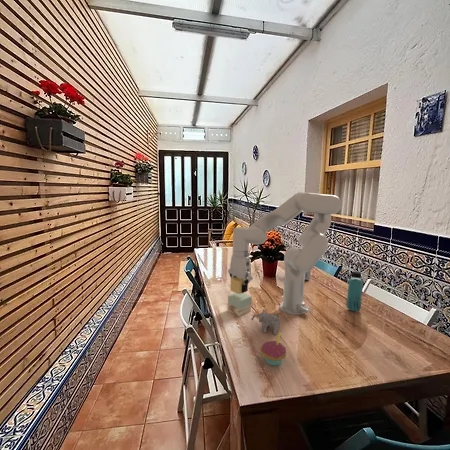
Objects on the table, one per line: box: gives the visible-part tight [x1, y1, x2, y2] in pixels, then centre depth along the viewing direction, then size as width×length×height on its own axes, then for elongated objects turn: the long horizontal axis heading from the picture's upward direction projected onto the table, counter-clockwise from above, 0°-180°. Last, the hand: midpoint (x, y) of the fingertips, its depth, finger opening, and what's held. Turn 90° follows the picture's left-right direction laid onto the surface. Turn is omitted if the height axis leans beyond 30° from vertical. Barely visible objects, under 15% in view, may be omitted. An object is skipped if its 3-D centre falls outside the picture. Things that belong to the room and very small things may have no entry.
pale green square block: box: [227, 292, 252, 309], centre depth 125 cm, size 8×8×4 cm
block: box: [230, 277, 249, 294], centre depth 124 cm, size 6×6×6 cm
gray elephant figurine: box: [250, 308, 281, 336], centre depth 109 cm, size 9×12×8 cm
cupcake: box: [260, 330, 287, 366], centre depth 88 cm, size 9×8×12 cm
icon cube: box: [304, 270, 311, 281], centre depth 175 cm, size 10×10×10 cm
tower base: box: [227, 303, 252, 317], centre depth 126 cm, size 8×8×4 cm
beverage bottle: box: [346, 271, 363, 312], centre depth 127 cm, size 6×7×20 cm
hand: (239, 289), depth 124 cm, fingers closed on block, 6 cm apart
